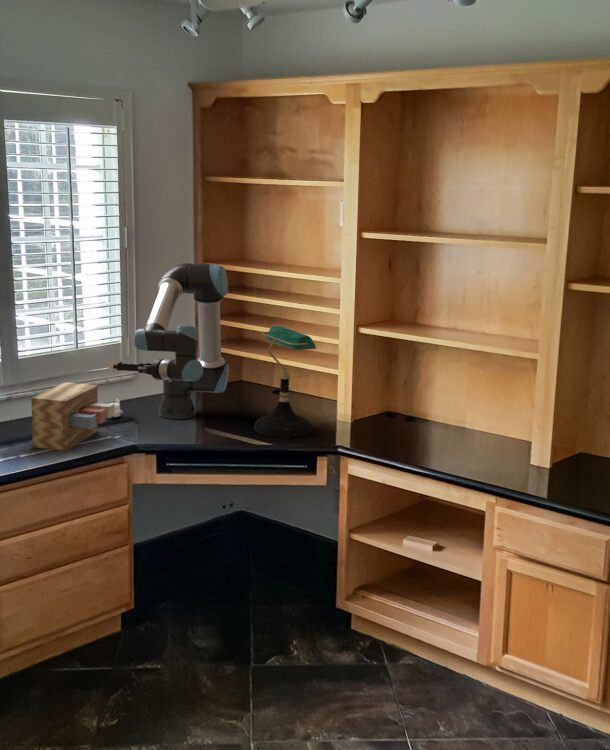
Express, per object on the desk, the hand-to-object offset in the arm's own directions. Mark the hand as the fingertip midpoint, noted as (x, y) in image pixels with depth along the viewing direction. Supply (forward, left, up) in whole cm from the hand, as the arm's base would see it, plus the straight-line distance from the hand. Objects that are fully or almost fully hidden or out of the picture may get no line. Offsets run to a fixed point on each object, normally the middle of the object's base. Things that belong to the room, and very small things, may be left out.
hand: (122, 367), depth 326 cm
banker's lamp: (-60, +16, -26) cm, 67 cm away
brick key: (+14, +4, -18) cm, 23 cm away
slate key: (+19, +10, -18) cm, 28 cm away
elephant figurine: (-3, -24, -26) cm, 36 cm away
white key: (+9, -2, -18) cm, 20 cm away
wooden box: (+21, -1, -26) cm, 33 cm away
